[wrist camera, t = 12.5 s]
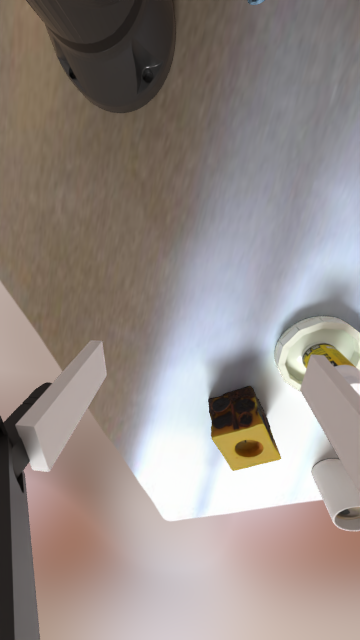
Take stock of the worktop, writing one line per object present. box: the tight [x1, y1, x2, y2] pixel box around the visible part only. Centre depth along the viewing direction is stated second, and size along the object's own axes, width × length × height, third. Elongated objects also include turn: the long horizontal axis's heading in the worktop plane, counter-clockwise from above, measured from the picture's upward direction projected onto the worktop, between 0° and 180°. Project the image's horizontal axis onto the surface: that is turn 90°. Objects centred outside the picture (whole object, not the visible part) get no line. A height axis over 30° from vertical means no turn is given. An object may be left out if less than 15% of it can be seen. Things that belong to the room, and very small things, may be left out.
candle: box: [208, 386, 281, 471], centre depth 46 cm, size 10×10×10 cm
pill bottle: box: [301, 342, 360, 395], centre depth 38 cm, size 6×6×11 cm
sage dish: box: [274, 316, 360, 391], centre depth 42 cm, size 15×15×3 cm
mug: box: [312, 459, 360, 531], centre depth 51 cm, size 11×10×10 cm
